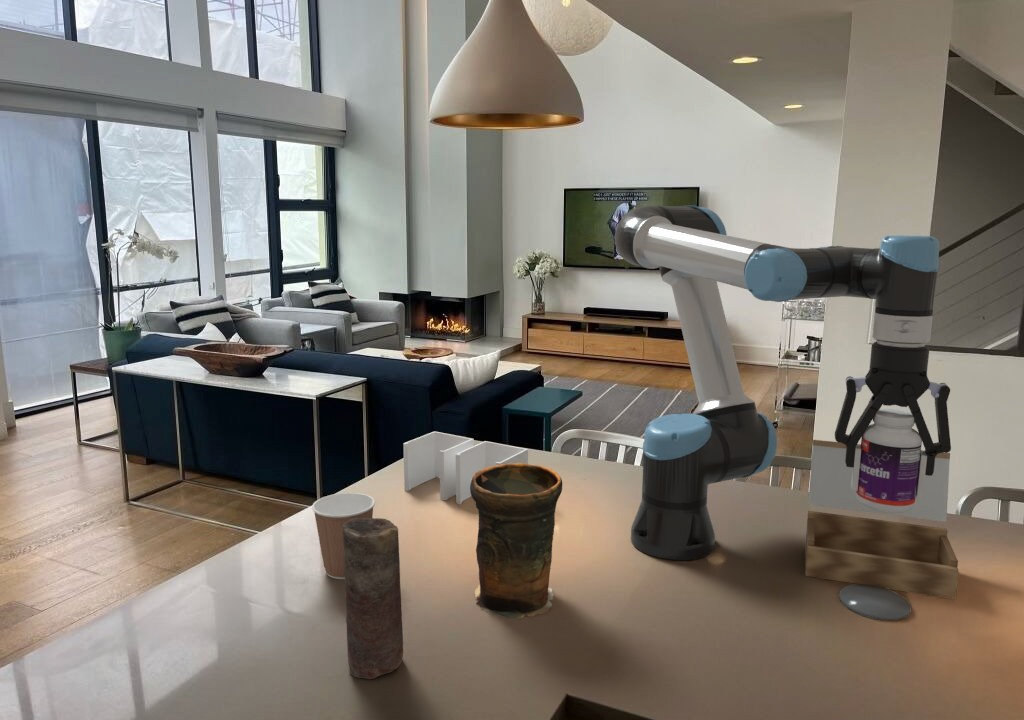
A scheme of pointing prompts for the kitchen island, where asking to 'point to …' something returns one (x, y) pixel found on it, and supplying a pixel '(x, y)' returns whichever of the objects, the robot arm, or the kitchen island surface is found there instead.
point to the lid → (836, 491)
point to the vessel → (515, 537)
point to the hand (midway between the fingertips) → (885, 490)
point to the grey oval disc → (875, 602)
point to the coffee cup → (338, 526)
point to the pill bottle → (889, 462)
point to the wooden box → (881, 554)
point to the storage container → (453, 461)
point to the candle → (372, 596)
